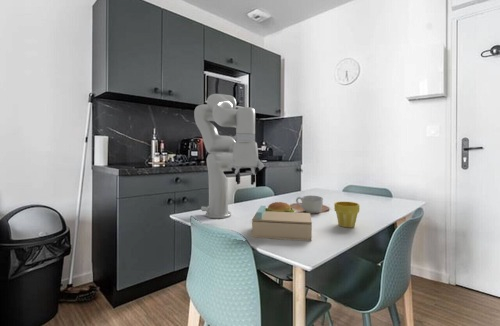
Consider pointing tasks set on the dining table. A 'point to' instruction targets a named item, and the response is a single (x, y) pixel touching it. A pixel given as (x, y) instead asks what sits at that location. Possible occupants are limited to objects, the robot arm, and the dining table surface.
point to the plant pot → (346, 213)
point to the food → (279, 207)
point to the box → (282, 230)
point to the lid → (281, 216)
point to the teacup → (311, 203)
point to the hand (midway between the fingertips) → (245, 183)
